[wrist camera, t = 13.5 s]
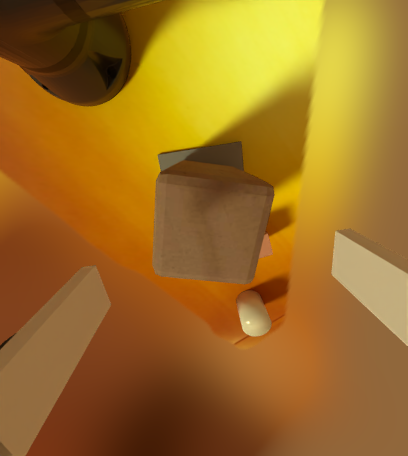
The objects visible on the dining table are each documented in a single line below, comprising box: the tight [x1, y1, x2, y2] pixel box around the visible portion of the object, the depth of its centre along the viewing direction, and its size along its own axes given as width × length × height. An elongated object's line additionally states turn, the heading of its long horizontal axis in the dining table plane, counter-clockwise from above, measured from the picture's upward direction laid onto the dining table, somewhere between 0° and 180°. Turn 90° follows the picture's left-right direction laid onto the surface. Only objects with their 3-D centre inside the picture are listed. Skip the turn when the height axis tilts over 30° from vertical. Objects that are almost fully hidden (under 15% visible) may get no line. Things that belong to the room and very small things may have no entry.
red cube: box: [259, 231, 273, 258], centre depth 37 cm, size 4×4×6 cm
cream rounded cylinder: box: [236, 290, 271, 336], centre depth 42 cm, size 6×6×7 cm
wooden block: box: [153, 160, 274, 284], centre depth 27 cm, size 10×10×20 cm
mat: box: [158, 142, 244, 171], centre depth 36 cm, size 14×14×1 cm
